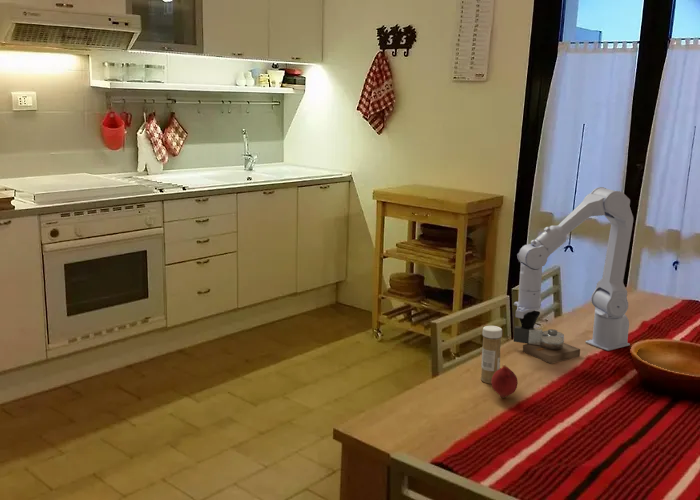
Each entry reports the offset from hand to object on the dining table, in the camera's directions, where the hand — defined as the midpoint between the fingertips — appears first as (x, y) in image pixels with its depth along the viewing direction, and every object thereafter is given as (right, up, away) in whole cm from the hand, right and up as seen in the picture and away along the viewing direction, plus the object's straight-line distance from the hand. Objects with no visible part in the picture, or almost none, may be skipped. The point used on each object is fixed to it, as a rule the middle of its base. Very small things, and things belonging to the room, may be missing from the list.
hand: (526, 336), depth 191 cm
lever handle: (+2, -2, -3) cm, 4 cm away
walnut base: (+6, -4, -4) cm, 8 cm away
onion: (-13, -10, -31) cm, 36 cm away
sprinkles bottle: (-15, -8, -22) cm, 28 cm away
